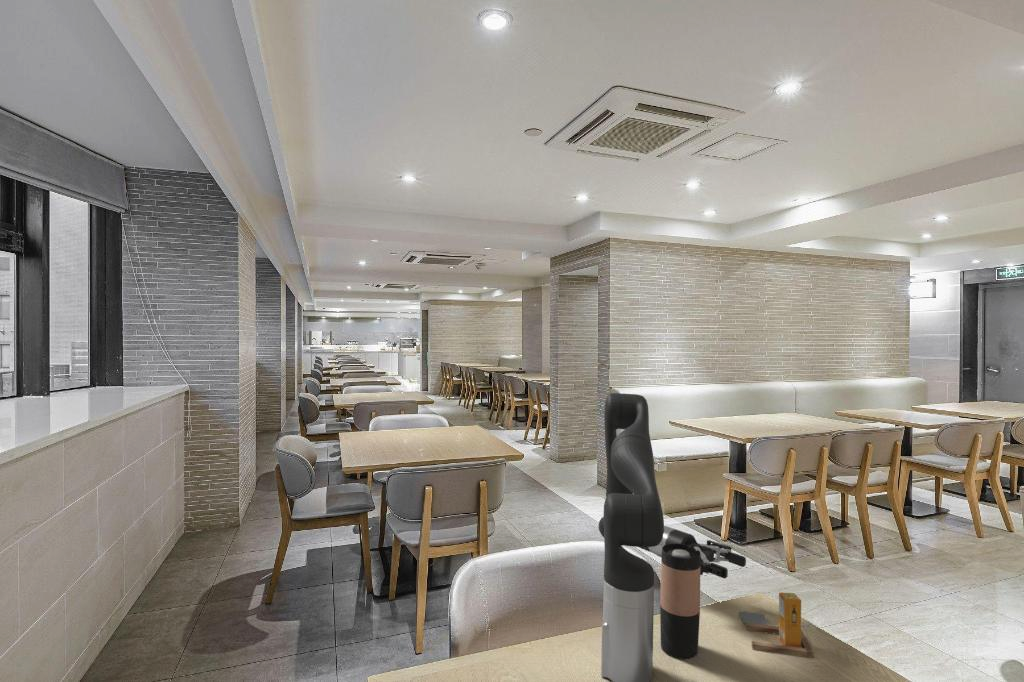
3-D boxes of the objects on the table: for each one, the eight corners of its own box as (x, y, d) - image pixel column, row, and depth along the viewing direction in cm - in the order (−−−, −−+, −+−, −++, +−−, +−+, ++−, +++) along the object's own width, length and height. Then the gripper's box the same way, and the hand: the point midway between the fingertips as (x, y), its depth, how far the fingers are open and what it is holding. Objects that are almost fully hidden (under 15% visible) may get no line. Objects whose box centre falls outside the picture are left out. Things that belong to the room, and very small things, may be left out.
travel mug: (659, 657, 105) (661, 556, 105) (658, 635, 112) (660, 541, 112) (701, 663, 103) (703, 560, 103) (697, 641, 111) (699, 545, 110)
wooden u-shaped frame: (752, 649, 108) (752, 644, 108) (744, 626, 116) (744, 622, 116) (813, 657, 105) (814, 652, 105) (801, 634, 114) (801, 629, 114)
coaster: (744, 625, 117) (744, 622, 117) (740, 613, 122) (740, 610, 122) (768, 628, 116) (769, 625, 116) (763, 616, 121) (763, 613, 121)
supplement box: (794, 639, 112) (795, 592, 111) (801, 649, 108) (802, 600, 108) (777, 638, 112) (778, 591, 112) (784, 648, 109) (785, 599, 108)
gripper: (655, 537, 126) (721, 560, 114) (687, 522, 136) (751, 542, 123) (654, 568, 126) (720, 595, 114) (687, 551, 136) (750, 574, 124)
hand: (736, 567), depth 119 cm, fingers open, 8 cm apart
